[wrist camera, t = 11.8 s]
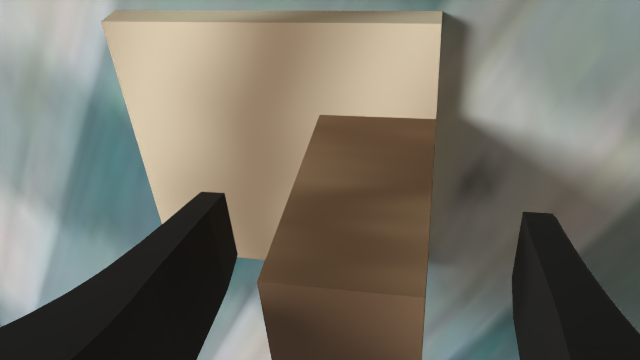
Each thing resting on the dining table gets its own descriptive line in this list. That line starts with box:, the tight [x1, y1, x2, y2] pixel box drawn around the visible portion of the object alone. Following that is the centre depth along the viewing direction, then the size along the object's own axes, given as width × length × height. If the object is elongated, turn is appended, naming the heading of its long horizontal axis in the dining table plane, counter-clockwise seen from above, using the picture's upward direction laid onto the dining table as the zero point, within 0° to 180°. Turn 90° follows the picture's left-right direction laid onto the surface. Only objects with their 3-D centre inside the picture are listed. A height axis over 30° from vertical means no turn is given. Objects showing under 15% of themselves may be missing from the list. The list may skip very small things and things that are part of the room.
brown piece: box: [101, 10, 442, 360], centre depth 14 cm, size 8×8×7 cm
